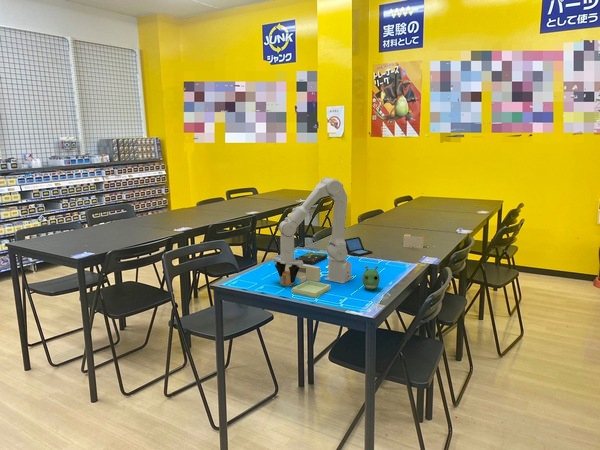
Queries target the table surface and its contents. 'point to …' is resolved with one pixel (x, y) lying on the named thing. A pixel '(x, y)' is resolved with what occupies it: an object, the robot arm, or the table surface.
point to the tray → (311, 289)
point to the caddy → (286, 279)
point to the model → (413, 241)
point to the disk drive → (311, 258)
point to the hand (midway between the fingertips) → (287, 281)
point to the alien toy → (371, 278)
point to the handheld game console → (356, 247)
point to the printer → (307, 273)
